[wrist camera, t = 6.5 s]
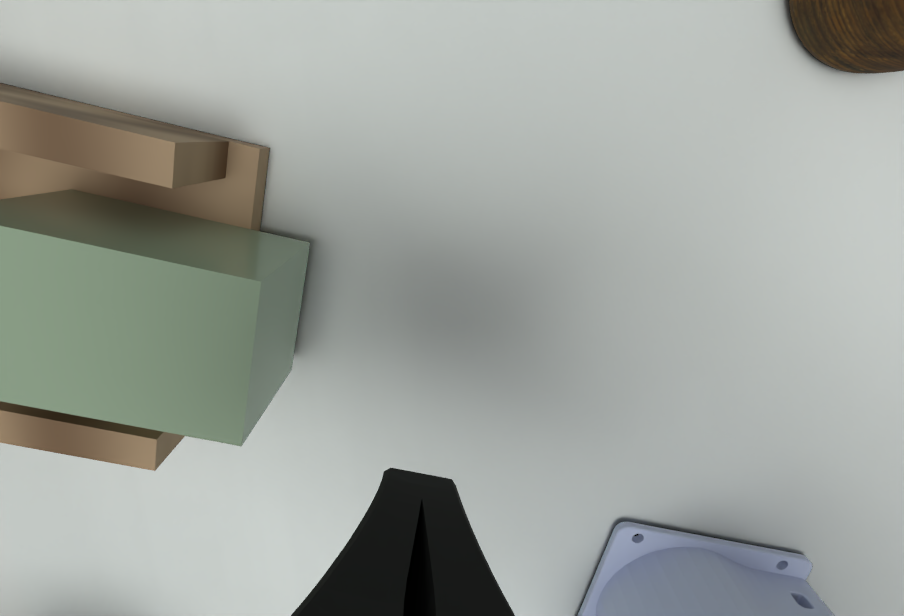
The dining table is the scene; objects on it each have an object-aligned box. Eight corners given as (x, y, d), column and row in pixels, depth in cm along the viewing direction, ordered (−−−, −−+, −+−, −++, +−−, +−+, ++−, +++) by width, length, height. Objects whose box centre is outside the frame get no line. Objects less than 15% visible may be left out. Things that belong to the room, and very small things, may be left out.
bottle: (261, 281, 13) (-292, 162, 12) (241, 446, 14) (-250, 354, 13) (310, 242, 18) (-82, 154, 17) (291, 369, 19) (-68, 297, 18)
